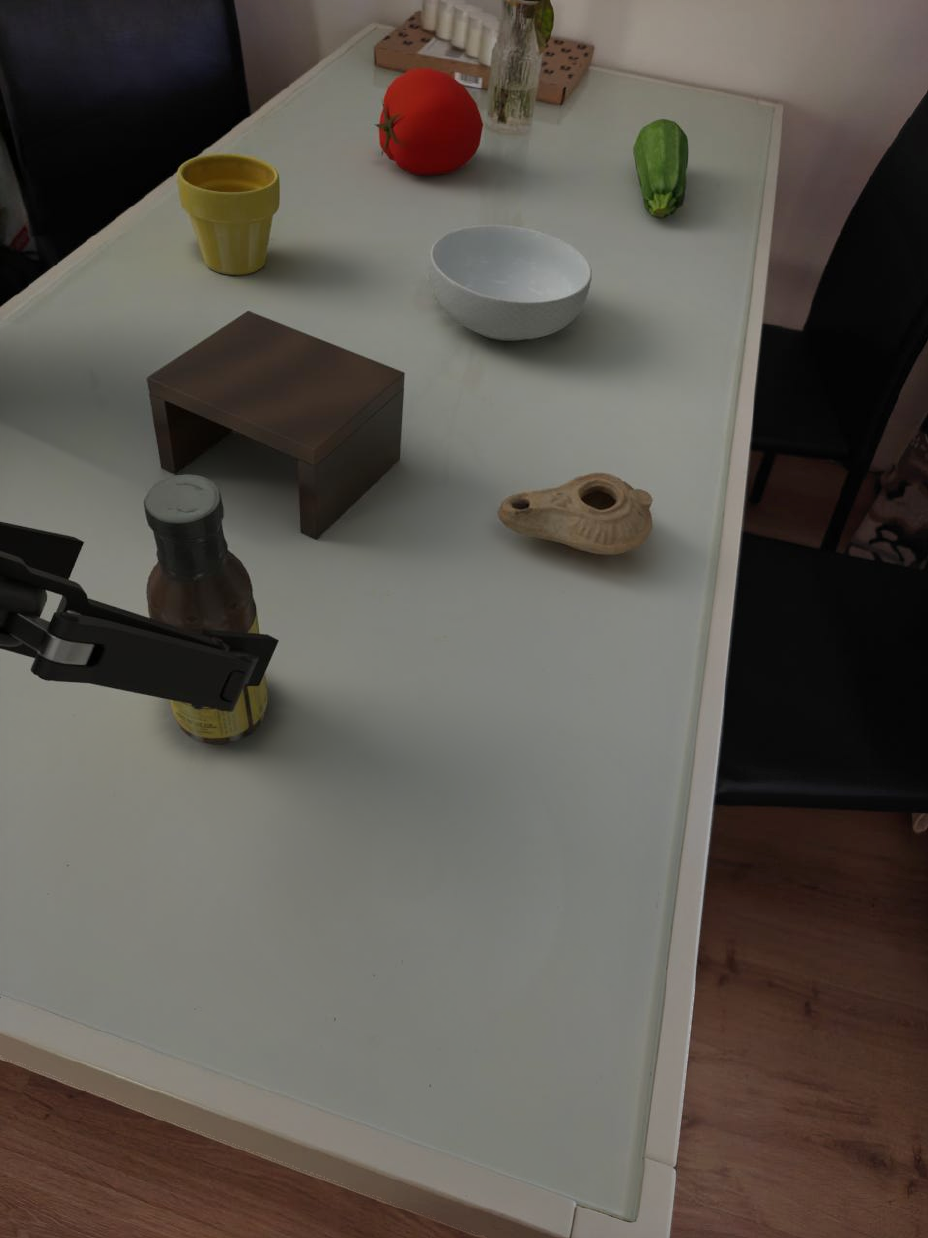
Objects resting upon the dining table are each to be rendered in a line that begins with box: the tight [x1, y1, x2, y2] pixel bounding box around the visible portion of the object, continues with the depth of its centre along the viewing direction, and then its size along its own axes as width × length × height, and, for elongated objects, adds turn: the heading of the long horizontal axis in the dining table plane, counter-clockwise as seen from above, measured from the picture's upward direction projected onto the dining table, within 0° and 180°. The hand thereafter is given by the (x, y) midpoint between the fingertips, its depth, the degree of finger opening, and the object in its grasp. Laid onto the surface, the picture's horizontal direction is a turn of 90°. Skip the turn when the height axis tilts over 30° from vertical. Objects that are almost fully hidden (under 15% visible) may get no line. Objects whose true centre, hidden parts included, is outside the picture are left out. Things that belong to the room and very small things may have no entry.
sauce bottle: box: [143, 474, 269, 745], centre depth 60 cm, size 6×6×20 cm
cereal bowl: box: [428, 224, 593, 342], centre depth 104 cm, size 17×17×7 cm
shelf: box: [146, 310, 406, 541], centre depth 83 cm, size 16×13×9 cm
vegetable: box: [632, 118, 689, 219], centre depth 130 cm, size 7×7×20 cm
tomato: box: [374, 67, 484, 176], centre depth 128 cm, size 13×13×13 cm
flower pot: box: [176, 152, 281, 276], centre depth 107 cm, size 10×10×10 cm
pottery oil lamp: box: [497, 472, 654, 555], centre depth 81 cm, size 9×12×7 cm
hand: (164, 609), depth 55 cm, fingers open, 13 cm apart
